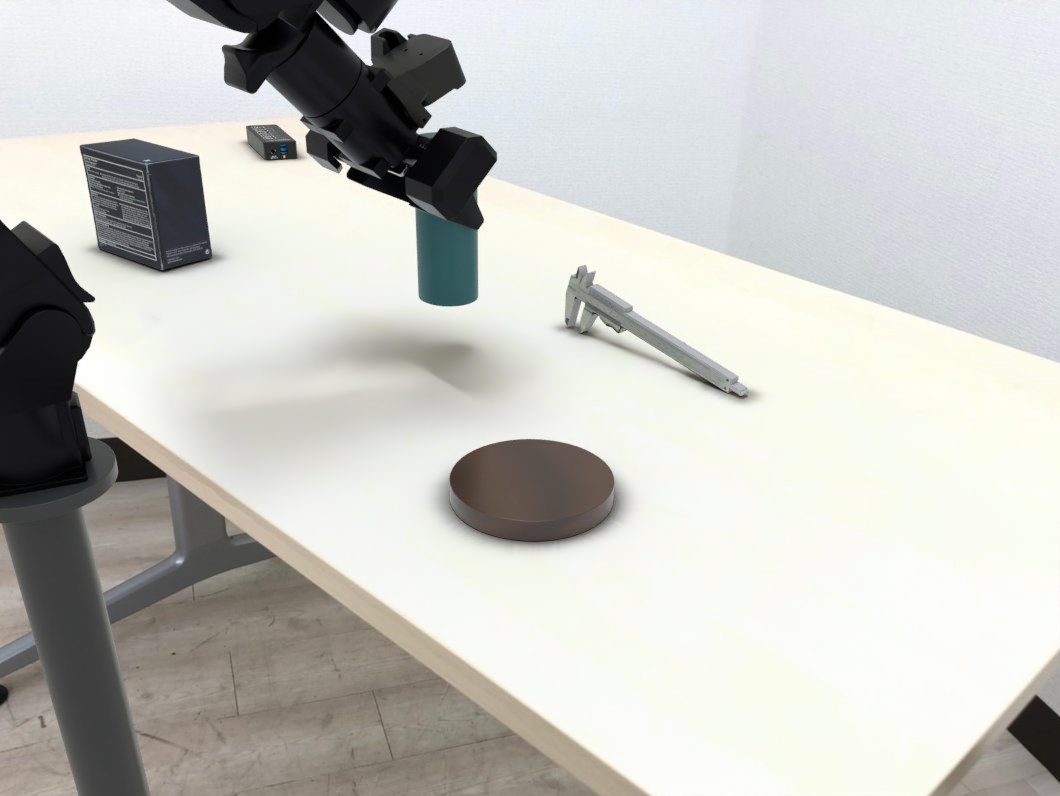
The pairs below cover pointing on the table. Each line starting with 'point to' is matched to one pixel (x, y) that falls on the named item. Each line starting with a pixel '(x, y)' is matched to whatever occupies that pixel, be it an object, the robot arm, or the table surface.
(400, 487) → the table surface
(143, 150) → the small box
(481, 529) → the walnut chip
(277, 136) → the multiport hub
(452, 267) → the cylinder
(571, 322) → the caliper
